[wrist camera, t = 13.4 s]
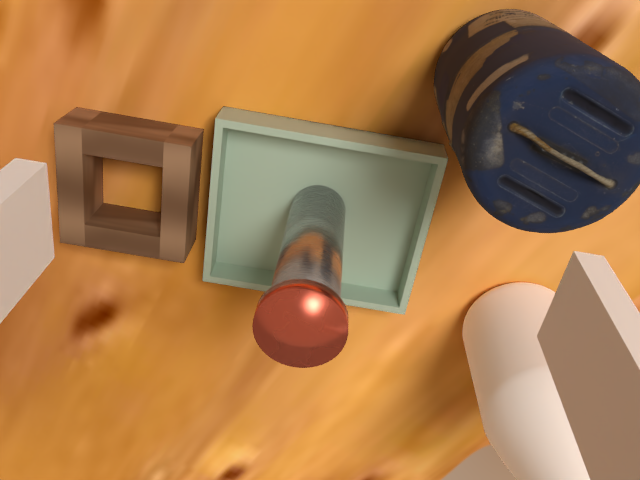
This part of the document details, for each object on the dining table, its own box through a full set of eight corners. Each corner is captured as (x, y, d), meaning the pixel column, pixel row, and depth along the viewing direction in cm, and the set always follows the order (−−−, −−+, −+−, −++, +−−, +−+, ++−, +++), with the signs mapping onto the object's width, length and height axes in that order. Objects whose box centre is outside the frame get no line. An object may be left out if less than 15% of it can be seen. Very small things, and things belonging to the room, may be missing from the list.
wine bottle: (452, 288, 54) (539, 656, 27) (564, 267, 52) (770, 636, 26) (469, 371, 58) (559, 757, 32) (573, 353, 56) (759, 745, 30)
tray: (223, 106, 47) (215, 118, 44) (443, 144, 47) (448, 158, 45) (210, 262, 54) (202, 281, 51) (402, 294, 54) (404, 314, 52)
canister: (487, 160, 48) (549, 286, 32) (403, 76, 45) (425, 168, 29) (591, 71, 44) (719, 163, 28) (506, -27, 42) (595, 16, 26)
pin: (289, 173, 49) (258, 282, 35) (358, 185, 49) (356, 299, 35) (279, 234, 51) (247, 359, 37) (345, 245, 52) (338, 374, 37)
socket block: (76, 107, 48) (53, 123, 44) (203, 129, 48) (191, 146, 45) (80, 219, 53) (60, 242, 49) (195, 239, 53) (184, 263, 49)
